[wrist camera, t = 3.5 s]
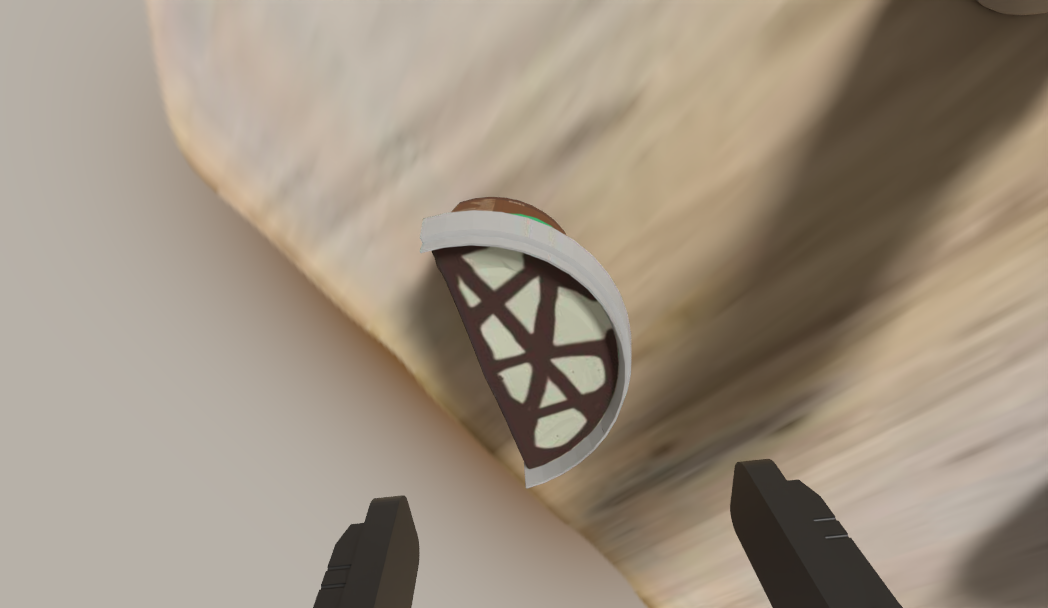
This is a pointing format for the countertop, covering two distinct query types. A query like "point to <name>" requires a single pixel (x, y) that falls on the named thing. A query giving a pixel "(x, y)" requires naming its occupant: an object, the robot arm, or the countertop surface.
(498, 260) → the food container
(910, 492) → the countertop surface
